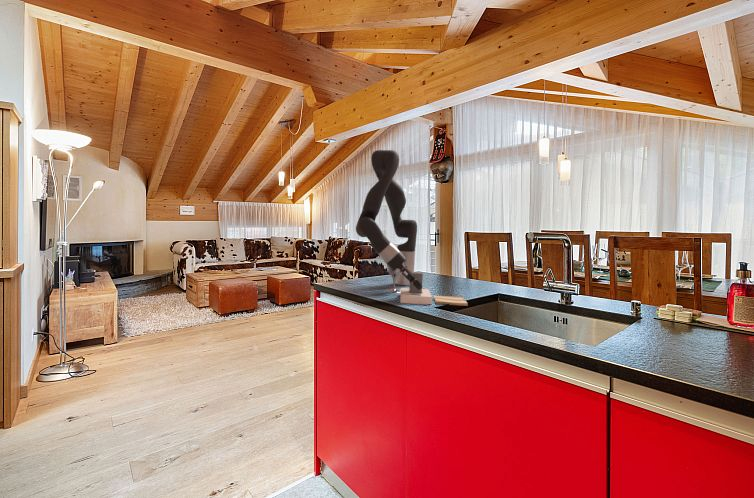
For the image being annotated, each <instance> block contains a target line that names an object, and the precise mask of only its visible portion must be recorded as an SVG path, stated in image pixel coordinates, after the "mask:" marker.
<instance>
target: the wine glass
mask: <svg viewBox="0 0 754 498" xmlns="http://www.w3.org/2000/svg"><path fill="white" fill-rule="evenodd" d="M403 264H404V263H403ZM386 269H387V272H388V273H389V274H390V276H391V277H392V283H393V285H392V286H393V288H392V289H387V290H386V292H387V293H391V294H401V290H398V289H396V278H397V277H398V275H399V274H400V269H399V268H397V269H396V270H394V271H393V270H392V269H391V268H390V267H389V266H388V265H387V264H386Z"/></svg>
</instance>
